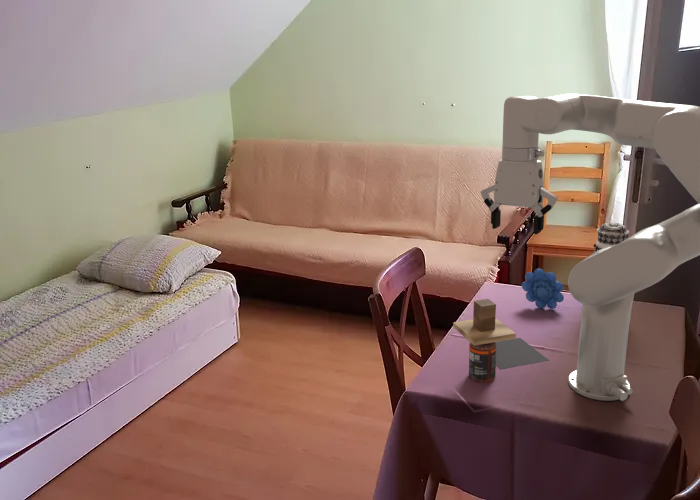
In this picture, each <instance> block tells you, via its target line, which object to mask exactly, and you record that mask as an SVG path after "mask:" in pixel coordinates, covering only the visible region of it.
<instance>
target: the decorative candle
mask: <svg viewBox="0 0 700 500" xmlns="http://www.w3.org/2000/svg"><path fill="white" fill-rule="evenodd" d="M596 230H597V239H596V243H594V244H593V248H594V249H593V253H595V252H596V251H598V250H600V249H602V248H606V247H611V246H615V245H617V244H619V243H621V242H623V241H624V240H626V239H628V238H629V233H630V230H628V229H627V227H626V225H624V224H622V223H618V222H607V223H603V224H601V225H600V227H598V228H596ZM593 253H592V254H593Z"/></svg>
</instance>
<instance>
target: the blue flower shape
mask: <svg viewBox="0 0 700 500" xmlns="http://www.w3.org/2000/svg"><path fill="white" fill-rule="evenodd" d="M524 279H525V281H523V282H522V283H521V289H522V290H523V291H525V292H526V293H525V299H526V300H527V301H528V302H531V303H534V302H535V306H536V307H537V308H538V309H541V310H542V309H545V308H546V307H547V308H548V309H551V310H555V309H556V308H557V307H558V303H562V302H563V301H564V300H565V299H564V296H565V295H564V294H563V293H562V292H563V291H564V289H565V287H564V284H563V283H562V282H561V281H558V280H557V276H556V275H555V273H554V272H552V271H549V272H548V271H547V272H545V271H544V270H543V269H542V268H539V267H538V268H535V270H534V272H531V271H528V272H526V273H525V275H524Z"/></svg>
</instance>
